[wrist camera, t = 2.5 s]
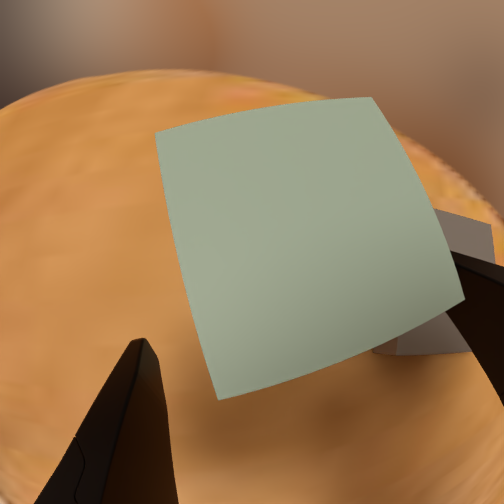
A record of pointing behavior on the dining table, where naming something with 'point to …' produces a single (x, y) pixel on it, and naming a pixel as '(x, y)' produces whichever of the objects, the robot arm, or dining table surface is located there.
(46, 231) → the dining table surface
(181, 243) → the sage green block
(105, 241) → the dining table surface
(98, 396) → the robot arm
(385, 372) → the dining table surface
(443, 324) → the slate plinth
